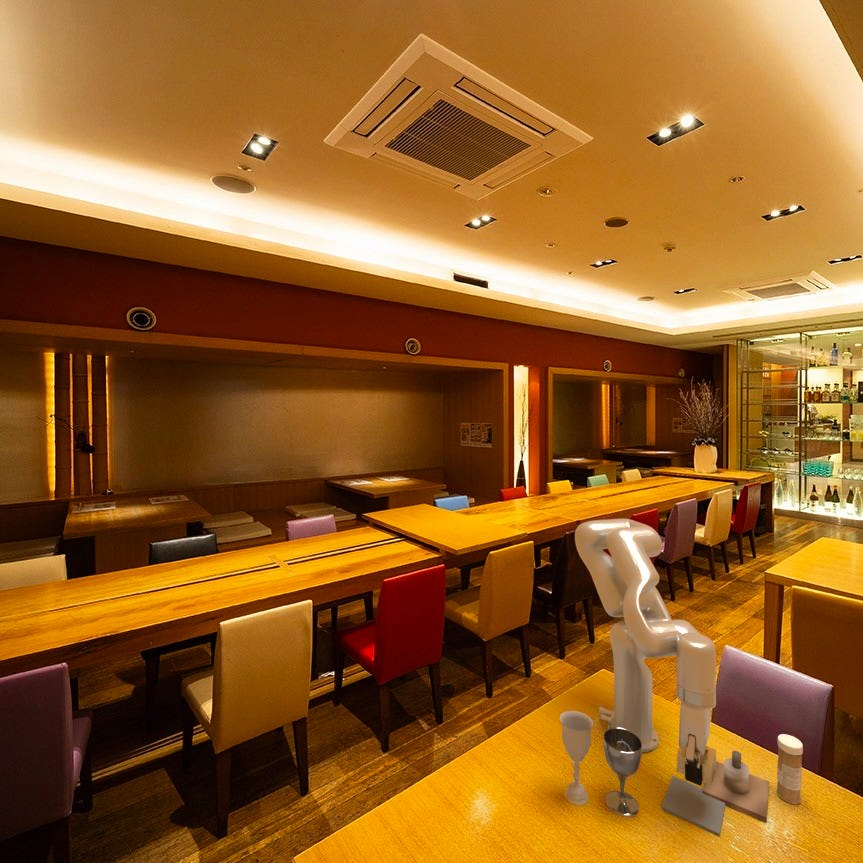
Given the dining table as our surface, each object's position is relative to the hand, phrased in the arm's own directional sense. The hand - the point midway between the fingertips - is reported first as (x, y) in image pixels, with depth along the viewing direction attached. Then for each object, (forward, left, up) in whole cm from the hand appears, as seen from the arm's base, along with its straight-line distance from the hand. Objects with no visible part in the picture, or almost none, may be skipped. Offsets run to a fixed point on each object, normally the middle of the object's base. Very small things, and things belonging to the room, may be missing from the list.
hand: (696, 771), depth 105 cm
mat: (0, 0, -8) cm, 8 cm away
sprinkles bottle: (+16, +15, -9) cm, 24 cm away
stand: (+7, +10, -8) cm, 15 cm away
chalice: (-22, -13, -9) cm, 27 cm away
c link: (0, 0, 0) cm, 0 cm away
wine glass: (-13, -9, -9) cm, 18 cm away
